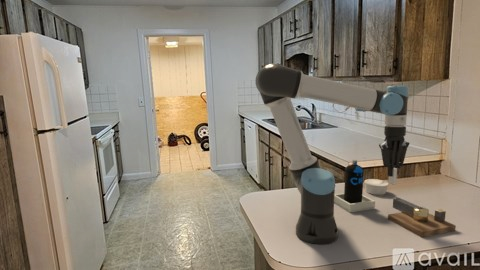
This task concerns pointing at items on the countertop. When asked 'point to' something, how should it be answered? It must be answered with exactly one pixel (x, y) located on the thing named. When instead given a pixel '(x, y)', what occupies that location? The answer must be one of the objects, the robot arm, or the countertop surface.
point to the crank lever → (411, 209)
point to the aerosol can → (353, 183)
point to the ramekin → (376, 186)
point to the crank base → (424, 223)
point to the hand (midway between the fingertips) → (392, 183)
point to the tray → (354, 207)
